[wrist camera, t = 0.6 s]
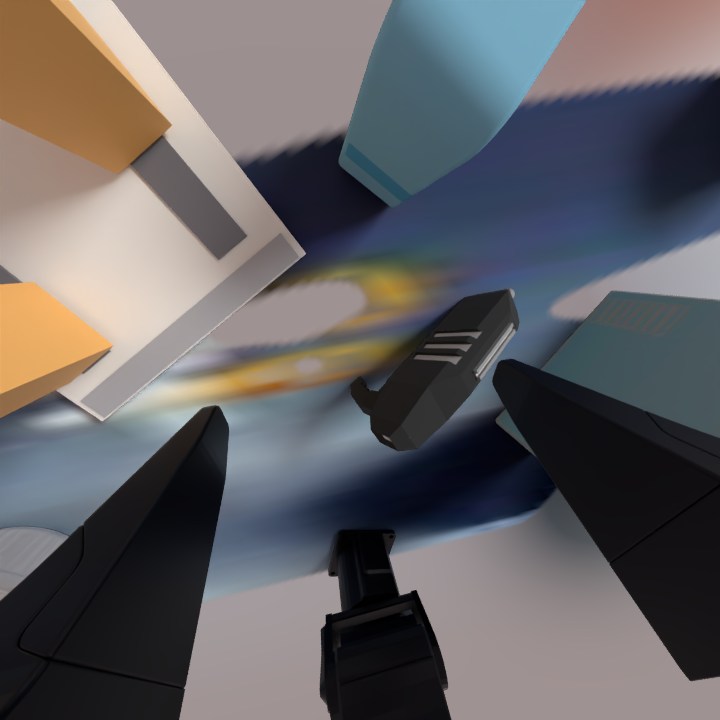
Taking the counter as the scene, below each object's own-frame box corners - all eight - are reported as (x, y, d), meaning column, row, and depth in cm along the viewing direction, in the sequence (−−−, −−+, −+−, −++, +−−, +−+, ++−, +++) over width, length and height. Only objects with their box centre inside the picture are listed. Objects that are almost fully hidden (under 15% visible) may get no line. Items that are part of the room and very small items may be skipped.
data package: (388, 213, 20) (495, 147, 8) (334, 170, 18) (378, 21, 7) (491, 38, 17) (828, -373, 6) (439, -27, 16) (759, -727, 5)
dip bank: (306, 254, 19) (306, 253, 18) (113, 413, 21) (100, 422, 19) (72, -51, 13) (47, -84, 12) (-187, 206, 14) (-235, 200, 13)
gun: (442, 316, 29) (547, 304, 21) (338, 426, 23) (430, 473, 14) (431, 293, 28) (538, 271, 20) (319, 402, 21) (406, 438, 13)
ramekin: (-25, 614, 24) (-107, 701, 20) (-80, 521, 21) (-198, 600, 16) (119, 594, 27) (76, 668, 22) (91, 507, 23) (33, 573, 18)
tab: (172, 125, 14) (-10, -61, 6) (118, 174, 15) (-128, 58, 6) (81, 14, 13) (-356, -469, 4) (21, 72, 13) (-503, -278, 5)
